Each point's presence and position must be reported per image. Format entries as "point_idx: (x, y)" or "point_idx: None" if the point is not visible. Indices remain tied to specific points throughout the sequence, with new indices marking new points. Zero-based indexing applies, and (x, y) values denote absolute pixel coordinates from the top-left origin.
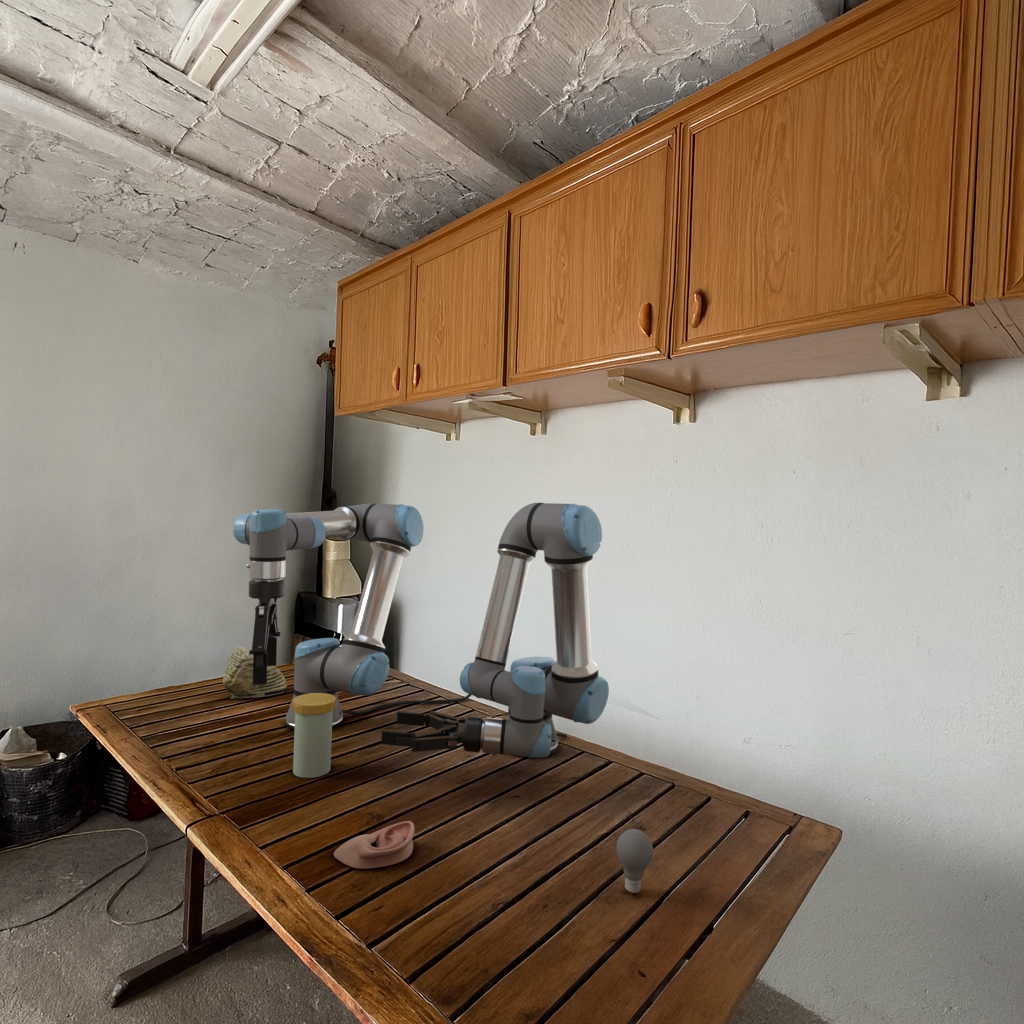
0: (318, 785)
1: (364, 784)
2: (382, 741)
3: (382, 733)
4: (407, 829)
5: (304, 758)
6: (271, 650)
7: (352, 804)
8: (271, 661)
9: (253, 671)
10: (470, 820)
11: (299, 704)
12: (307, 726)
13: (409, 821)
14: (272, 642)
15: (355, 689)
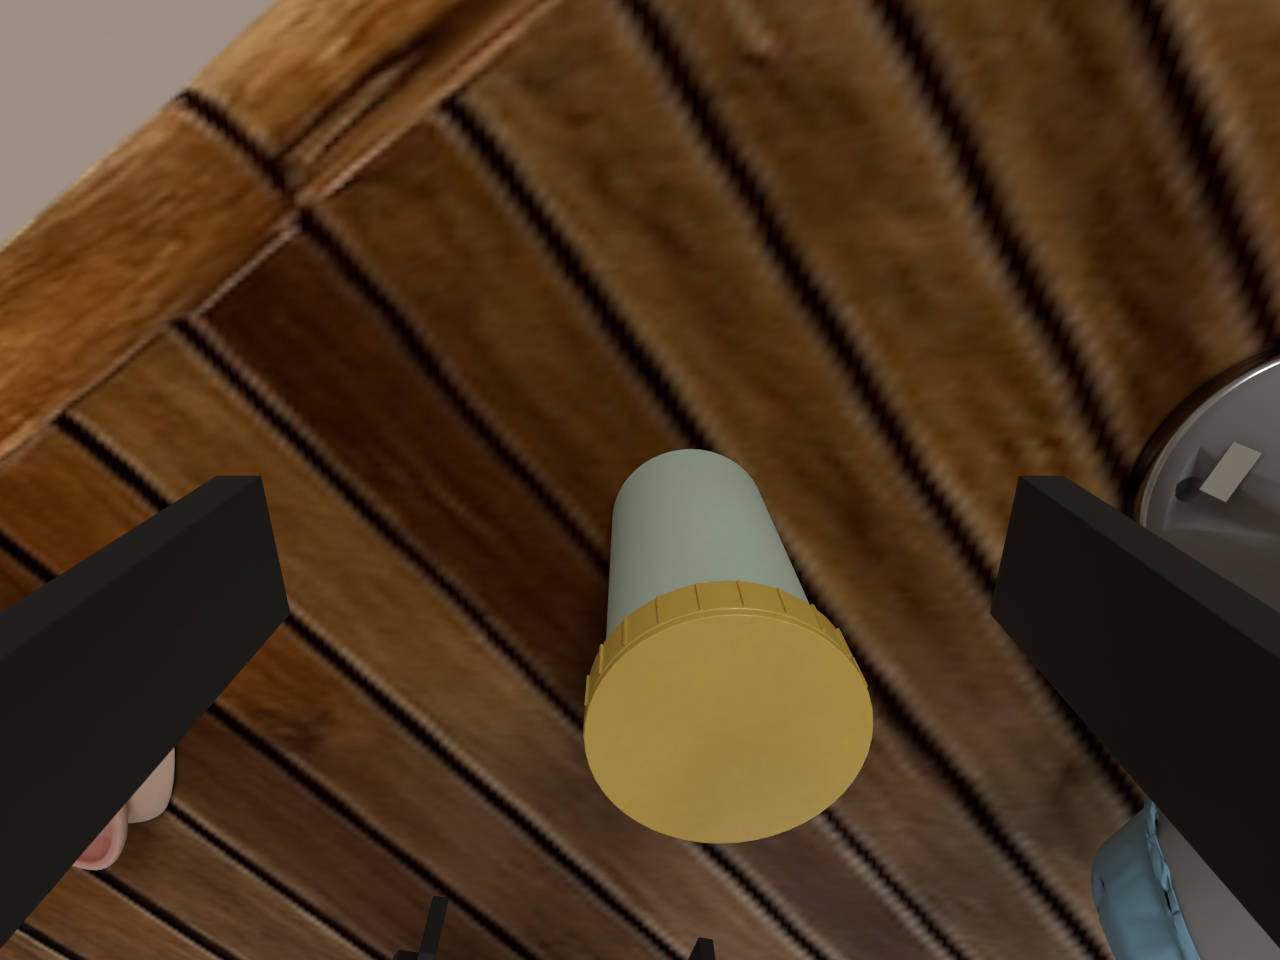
0: (542, 555)
1: (539, 698)
2: (430, 911)
3: (421, 946)
4: (108, 841)
5: (614, 533)
6: (1137, 695)
7: (385, 668)
8: (1032, 595)
9: (103, 555)
10: (294, 937)
11: (618, 663)
12: (609, 626)
13: (105, 863)
14: (1245, 827)
15: (1121, 844)
